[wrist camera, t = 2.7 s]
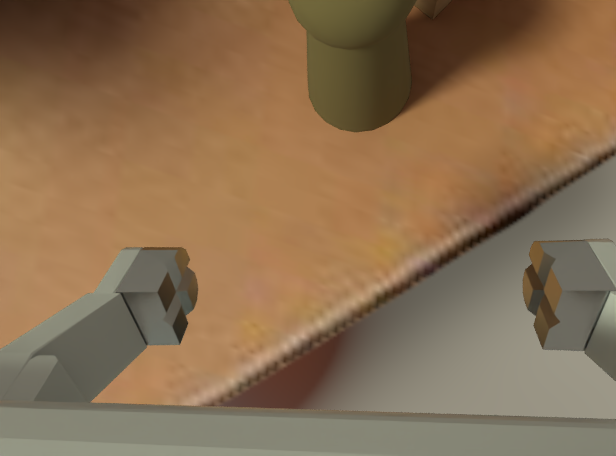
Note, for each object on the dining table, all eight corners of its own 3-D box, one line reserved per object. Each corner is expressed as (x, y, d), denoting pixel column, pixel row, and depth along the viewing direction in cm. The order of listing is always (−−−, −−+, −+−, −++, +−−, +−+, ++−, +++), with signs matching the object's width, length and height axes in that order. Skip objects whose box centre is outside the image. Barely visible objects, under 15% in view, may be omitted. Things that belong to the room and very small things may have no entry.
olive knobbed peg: (414, 32, 27) (443, -140, 16) (409, 133, 26) (437, 25, 15) (311, 33, 27) (271, -130, 17) (304, 131, 27) (258, 27, 16)
